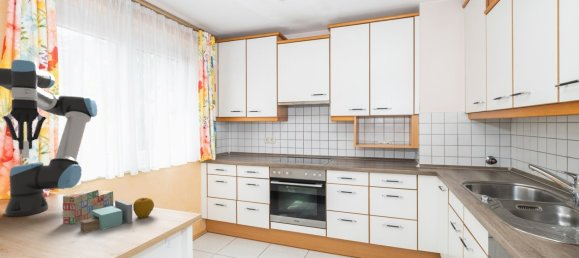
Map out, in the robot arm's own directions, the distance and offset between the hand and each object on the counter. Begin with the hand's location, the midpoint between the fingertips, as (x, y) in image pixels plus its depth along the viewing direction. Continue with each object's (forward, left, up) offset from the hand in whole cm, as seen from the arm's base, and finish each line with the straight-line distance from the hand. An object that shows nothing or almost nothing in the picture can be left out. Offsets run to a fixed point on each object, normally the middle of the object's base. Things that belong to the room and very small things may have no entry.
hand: (25, 157), depth 113 cm
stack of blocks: (+2, +22, -30) cm, 37 cm away
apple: (+23, +36, -30) cm, 52 cm away
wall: (+20, +29, -29) cm, 46 cm away
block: (+20, +22, -29) cm, 42 cm away
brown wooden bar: (+21, +18, -30) cm, 40 cm away
